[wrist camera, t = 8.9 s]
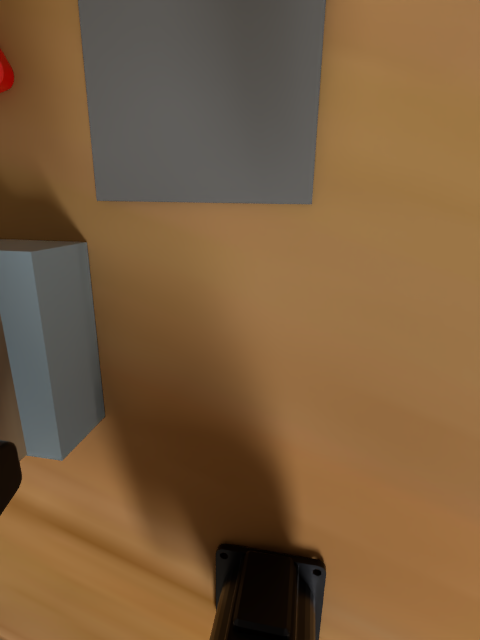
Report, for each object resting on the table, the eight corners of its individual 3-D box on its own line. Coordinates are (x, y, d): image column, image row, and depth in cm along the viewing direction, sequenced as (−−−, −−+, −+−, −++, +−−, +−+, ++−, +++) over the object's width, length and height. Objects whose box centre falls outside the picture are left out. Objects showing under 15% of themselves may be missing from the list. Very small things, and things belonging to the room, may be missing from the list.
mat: (311, 204, 16) (311, 204, 16) (101, 200, 18) (96, 200, 18) (331, -88, 13) (332, -97, 13) (77, -60, 15) (71, -67, 15)
